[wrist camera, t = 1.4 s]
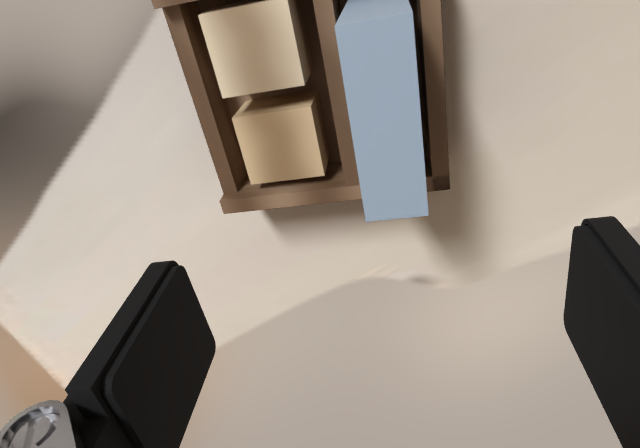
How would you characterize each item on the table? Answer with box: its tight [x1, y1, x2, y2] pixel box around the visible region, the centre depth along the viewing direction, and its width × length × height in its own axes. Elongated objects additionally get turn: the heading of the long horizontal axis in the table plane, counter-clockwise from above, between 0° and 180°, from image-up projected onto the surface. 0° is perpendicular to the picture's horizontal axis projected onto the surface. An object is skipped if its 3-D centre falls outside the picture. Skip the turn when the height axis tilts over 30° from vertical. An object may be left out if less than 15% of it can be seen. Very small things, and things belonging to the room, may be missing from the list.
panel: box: [335, 0, 429, 222], centre depth 25 cm, size 3×9×11 cm, turn 10°
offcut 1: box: [198, 0, 313, 98], centre depth 27 cm, size 5×5×4 cm
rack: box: [152, 0, 450, 214], centre depth 29 cm, size 15×14×5 cm
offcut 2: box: [232, 90, 330, 185], centre depth 31 cm, size 5×5×4 cm
